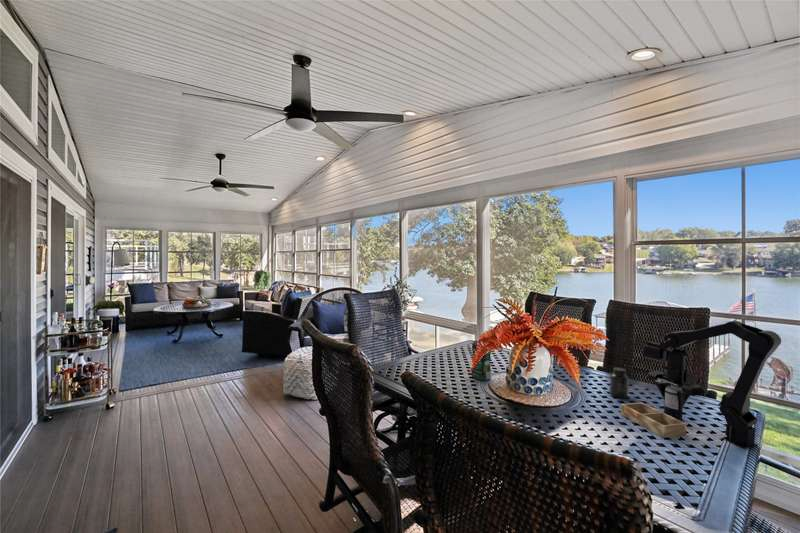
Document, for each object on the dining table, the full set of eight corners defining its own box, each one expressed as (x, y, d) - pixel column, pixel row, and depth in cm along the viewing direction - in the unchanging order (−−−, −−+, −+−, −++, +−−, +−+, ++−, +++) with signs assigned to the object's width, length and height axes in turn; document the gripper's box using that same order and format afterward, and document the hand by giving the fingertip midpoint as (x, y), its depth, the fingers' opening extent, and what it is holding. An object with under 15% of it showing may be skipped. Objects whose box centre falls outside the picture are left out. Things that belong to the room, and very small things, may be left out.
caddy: (686, 434, 128) (687, 423, 128) (662, 437, 126) (663, 426, 126) (641, 412, 146) (642, 402, 146) (620, 414, 144) (620, 404, 144)
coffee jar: (468, 376, 186) (469, 340, 185) (480, 373, 190) (480, 338, 189) (481, 382, 177) (482, 344, 176) (493, 379, 181) (494, 342, 180)
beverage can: (685, 422, 137) (686, 391, 137) (668, 421, 138) (669, 390, 138) (677, 416, 143) (678, 385, 142) (660, 414, 144) (662, 384, 143)
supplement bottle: (608, 391, 167) (609, 365, 166) (625, 393, 164) (626, 367, 164) (611, 397, 160) (612, 370, 160) (629, 399, 158) (630, 372, 157)
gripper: (717, 371, 132) (715, 413, 133) (669, 356, 150) (668, 393, 151) (693, 373, 130) (691, 416, 130) (647, 357, 148) (645, 395, 149)
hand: (673, 404), depth 140 cm, fingers closed on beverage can, 6 cm apart
